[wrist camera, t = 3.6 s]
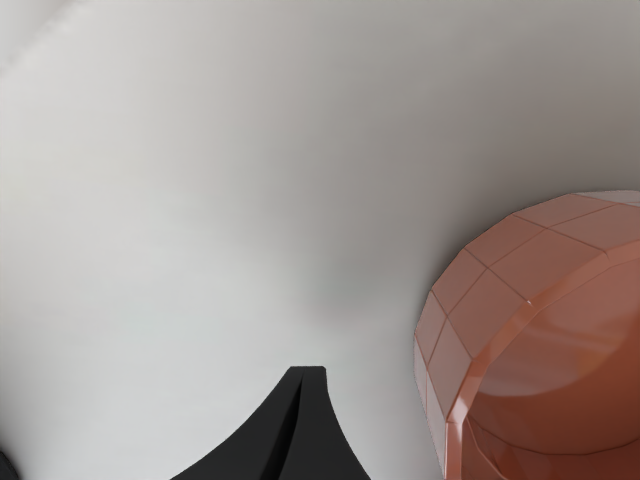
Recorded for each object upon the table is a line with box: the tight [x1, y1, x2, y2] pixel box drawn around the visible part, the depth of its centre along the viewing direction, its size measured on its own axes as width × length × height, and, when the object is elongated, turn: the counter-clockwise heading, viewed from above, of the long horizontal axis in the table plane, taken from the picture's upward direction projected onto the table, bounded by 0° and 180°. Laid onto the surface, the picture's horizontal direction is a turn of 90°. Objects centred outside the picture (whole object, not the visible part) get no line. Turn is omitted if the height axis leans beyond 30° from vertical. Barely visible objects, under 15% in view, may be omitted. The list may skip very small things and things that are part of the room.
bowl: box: [414, 190, 640, 480], centre depth 12 cm, size 13×13×6 cm
